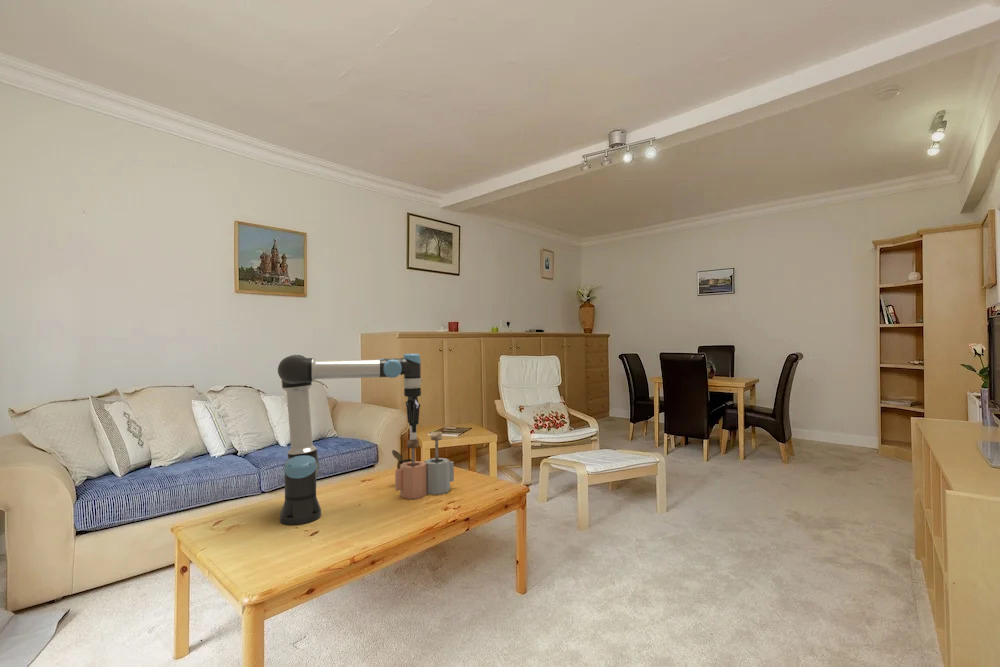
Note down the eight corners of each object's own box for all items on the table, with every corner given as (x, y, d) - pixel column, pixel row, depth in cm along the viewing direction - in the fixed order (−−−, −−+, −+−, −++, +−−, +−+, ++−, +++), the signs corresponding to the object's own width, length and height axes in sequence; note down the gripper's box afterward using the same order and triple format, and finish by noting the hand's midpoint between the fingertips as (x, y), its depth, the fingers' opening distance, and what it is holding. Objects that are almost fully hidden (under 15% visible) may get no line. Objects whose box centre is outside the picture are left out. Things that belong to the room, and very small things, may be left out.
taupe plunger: (409, 477, 213) (409, 441, 213) (406, 475, 217) (405, 439, 218) (420, 476, 215) (420, 440, 216) (416, 473, 220) (416, 438, 220)
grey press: (430, 496, 214) (430, 465, 215) (421, 489, 224) (421, 460, 224) (458, 491, 221) (457, 460, 221) (448, 485, 231) (448, 456, 231)
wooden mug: (387, 485, 231) (387, 448, 231) (408, 479, 242) (408, 443, 242) (399, 489, 226) (398, 451, 226) (420, 482, 236) (420, 446, 236)
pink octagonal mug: (399, 501, 207) (399, 469, 208) (392, 495, 217) (391, 464, 217) (429, 496, 214) (429, 465, 214) (420, 490, 224) (420, 460, 224)
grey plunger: (433, 469, 219) (433, 433, 219) (429, 466, 223) (429, 432, 223) (444, 467, 221) (443, 432, 222) (439, 465, 226) (439, 431, 226)
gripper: (425, 388, 213) (426, 440, 213) (415, 385, 225) (416, 436, 224) (409, 389, 210) (410, 442, 209) (400, 386, 221) (400, 437, 220)
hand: (413, 439), depth 217 cm, fingers closed
